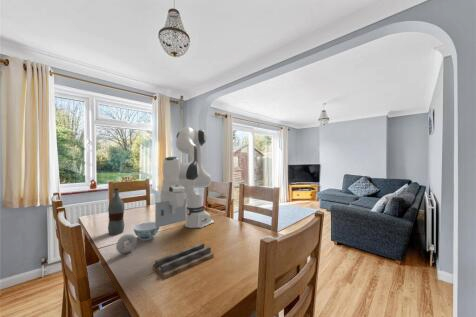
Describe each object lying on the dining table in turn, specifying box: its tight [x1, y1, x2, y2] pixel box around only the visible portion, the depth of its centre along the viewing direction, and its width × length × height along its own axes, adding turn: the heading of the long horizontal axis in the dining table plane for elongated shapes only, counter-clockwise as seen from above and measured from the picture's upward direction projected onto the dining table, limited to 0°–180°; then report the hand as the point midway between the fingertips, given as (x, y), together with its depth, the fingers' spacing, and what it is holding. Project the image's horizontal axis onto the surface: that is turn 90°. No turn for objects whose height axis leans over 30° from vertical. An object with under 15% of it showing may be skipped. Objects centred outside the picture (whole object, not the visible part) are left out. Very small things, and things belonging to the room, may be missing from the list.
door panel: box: [154, 198, 187, 228], centre depth 105 cm, size 16×3×12 cm, turn 136°
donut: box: [115, 233, 138, 255], centre depth 104 cm, size 10×4×10 cm, turn 142°
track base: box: [152, 242, 214, 279], centre depth 95 cm, size 26×12×4 cm, turn 136°
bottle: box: [107, 187, 125, 236], centre depth 132 cm, size 9×9×30 cm
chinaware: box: [133, 221, 160, 241], centre depth 123 cm, size 15×15×8 cm
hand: (171, 212), depth 105 cm, fingers closed on door panel, 2 cm apart
